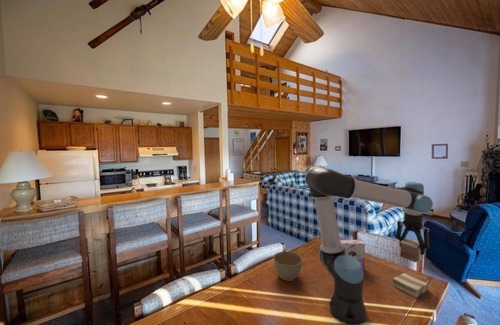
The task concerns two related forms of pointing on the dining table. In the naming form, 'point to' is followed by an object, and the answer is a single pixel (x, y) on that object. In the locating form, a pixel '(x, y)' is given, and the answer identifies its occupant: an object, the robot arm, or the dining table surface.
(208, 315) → the dining table surface
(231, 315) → the dining table surface
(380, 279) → the dining table surface
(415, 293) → the riser block
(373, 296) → the dining table surface
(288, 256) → the planter bowl
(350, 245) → the candy box
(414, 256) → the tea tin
